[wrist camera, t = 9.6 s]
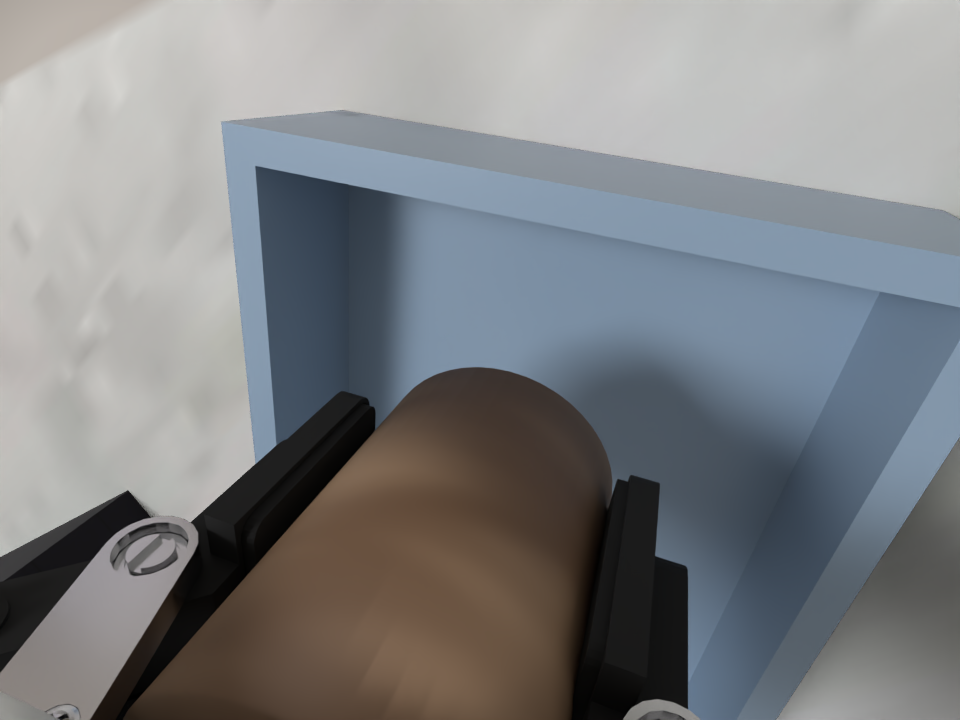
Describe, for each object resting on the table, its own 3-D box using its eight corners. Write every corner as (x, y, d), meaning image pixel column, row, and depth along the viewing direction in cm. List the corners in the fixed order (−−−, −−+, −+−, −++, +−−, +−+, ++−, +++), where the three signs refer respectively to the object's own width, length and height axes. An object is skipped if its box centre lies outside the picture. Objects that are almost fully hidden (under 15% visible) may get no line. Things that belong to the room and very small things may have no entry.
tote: (943, 210, 13) (1064, 275, 9) (677, 731, 23) (673, 876, 19) (342, 110, 17) (221, 121, 12) (344, 599, 27) (279, 697, 23)
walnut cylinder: (639, 405, 10) (575, 848, 4) (584, 589, 13) (495, 1037, 7) (393, 340, 11) (76, 624, 6) (385, 520, 14) (158, 852, 8)
